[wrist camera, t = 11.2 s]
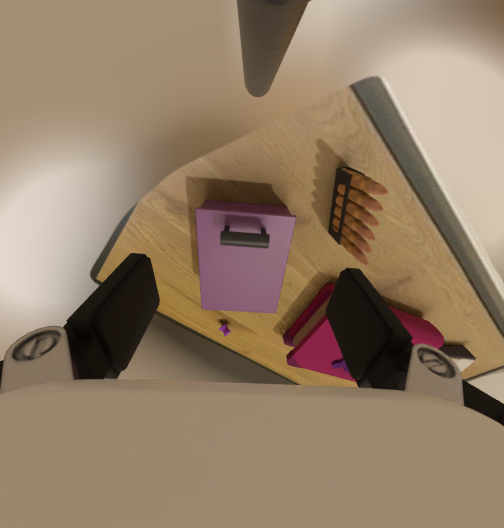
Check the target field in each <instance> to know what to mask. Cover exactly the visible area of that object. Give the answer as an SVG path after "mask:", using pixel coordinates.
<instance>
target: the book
mask: <svg viewBox="0 0 504 528" xmlns="http://www.w3.org/2000/svg"><path fill="white" fill-rule="evenodd" d="M334 288H335V285H333V284H327V285H325V286H324V287H323V289H322V290H321V291H320V292H319V294H318V295H317V296H316V297H315V298H314V300H313V301H312V302H311V303H310V305H309V306H308V307H307V308H306V309H305V311H304V312H303V313H302V314H301V316H300V317H299V318H298V319H297V320H296V322H295V323H294V324H293V325H292V327H291V328H290V329H289V330H287V331H286V333H285V334H284V335H283V340H284V344H286V345H289V346H293V347H295V348H294V349H293V350H291V351H290V352H289V353H288V354H287V356H286V357H287V364H288V365H290V366H294V367H298V368H300V367H301V368H305V369H309V370H312V371H316V372H320V373H324V374H328V375H332V376H335V377H339V378H343V379H347V380H351V381H355V382H356V380H355V379H353V378H352V377H351V375H350V373H349V370H348V368H347V365H346V363H345V360H344V358H343V355H342V353H341V351H340V348H339V346H338V343H337V341H336V338H335V336H334V333H333V331H332V328H331V326H330V323H329V321H328V318H327V316H326V307H327V305H328V302H329V300H330V297H331V295H332V293H333V290H334ZM389 307H390V306H389ZM390 309H391V310H392V311H393V312H394V314H395V315H396V316H397V318H398V319H399V320H400V322H401V323H402V324H403V325H404V327H405V328H406V329H407V331H408V332H409V333H410V334H411V336H412V337H413V339H412V340H411V342H412V343H413V345H416V344H426V345H430V346H432V347H435V348H437V349H438V348H440V347H441V346H443V343H444V337H443V335H442V334H441V333H440V331H439V330H438V329H437V328H436V327H435V326H434V325H433V324H431V323H430V322H429V321H426V320H424V319H421V318H419V317H416V316H413V315H411V314H408V313H406V312H403V311H401V310H398V309H395V308H393V307H390Z"/></svg>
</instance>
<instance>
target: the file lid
mask: <svg viewBox="0 0 504 528" xmlns="http://www.w3.org/2000/svg"><path fill="white" fill-rule="evenodd" d="M195 212H196V227H197V243H198V258H199V274H200V290H201V305H202V309H207V310H225V311H243V312H262V313H276V311H277V306H278V301H279V296H280V292H281V287H282V282H283V278H284V273H285V268H286V264H287V259H288V254H289V250H290V245H291V240H292V235H293V231H294V226H295V221H296V216H295V215H283V214H271V213H259V212H247V211H235V210H223V209H211V208H198V207H196V209H195Z"/></svg>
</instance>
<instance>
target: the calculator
mask: <svg viewBox="0 0 504 528" xmlns="http://www.w3.org/2000/svg"><path fill="white" fill-rule="evenodd" d="M438 350H440V351H442V352H443V353H445V354H446V355H447V356H448V357H450V358H451V359H452V360H453V361H454V362H455V363H456V365H457V366H458V368H459V369H460V372H462V371H463V370H464V369H465V368H467V367H468V366H469V365H470V364H471V363H473V362H474V360H475V359H476V358H475V357H474V356H473V355H472V354H471V353H470V352H469V351H468V350H467V348H466V347H464V346H456V345H451V346H441V347H440V348H438Z"/></svg>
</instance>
